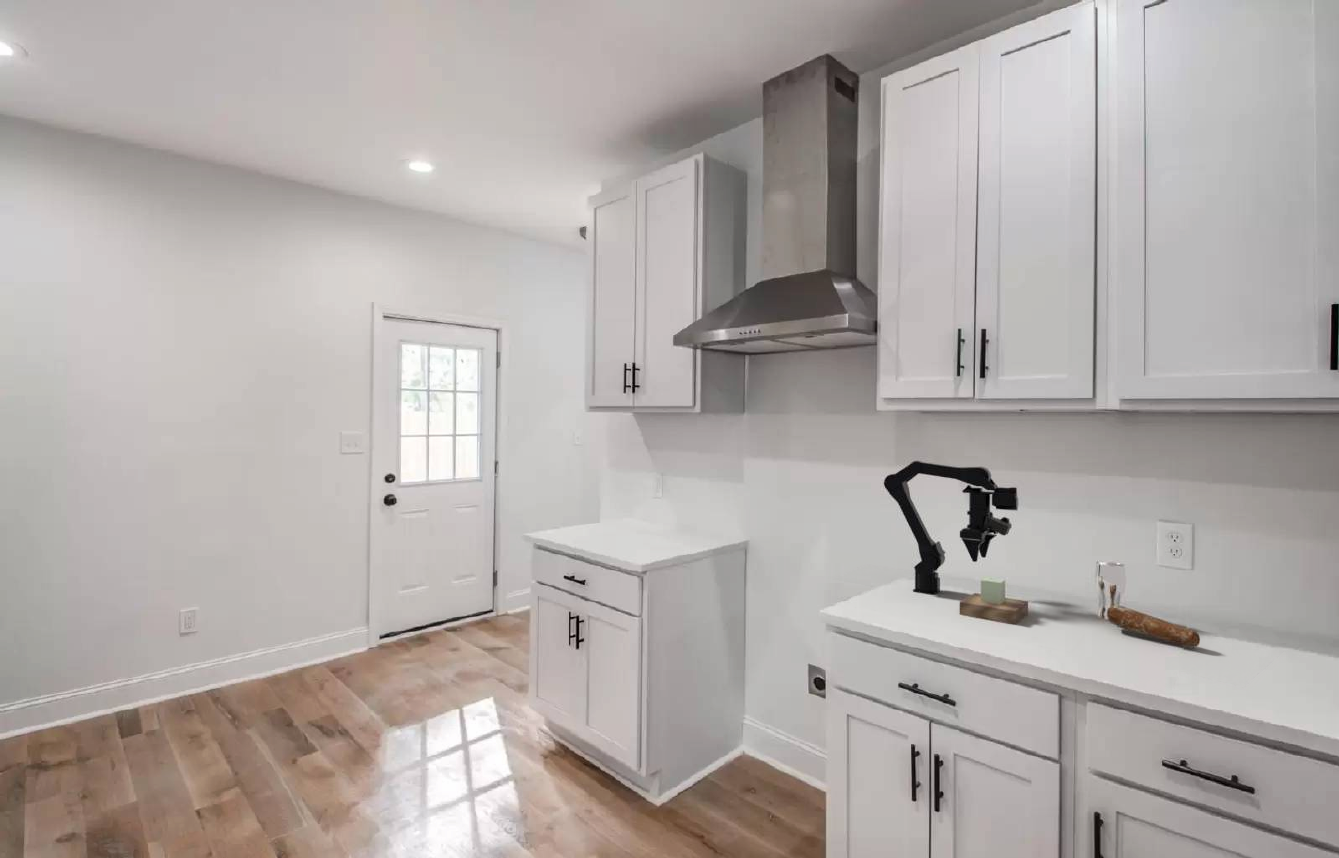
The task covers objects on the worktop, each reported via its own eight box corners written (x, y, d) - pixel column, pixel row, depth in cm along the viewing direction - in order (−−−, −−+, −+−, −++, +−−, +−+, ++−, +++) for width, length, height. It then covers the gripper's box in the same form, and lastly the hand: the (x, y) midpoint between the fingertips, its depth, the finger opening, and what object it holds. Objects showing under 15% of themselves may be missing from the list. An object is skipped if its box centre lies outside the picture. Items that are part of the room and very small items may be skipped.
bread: (1112, 625, 169) (1116, 604, 170) (1202, 649, 153) (1205, 625, 154) (1101, 623, 166) (1105, 601, 167) (1192, 647, 150) (1195, 623, 151)
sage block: (980, 601, 181) (980, 580, 181) (985, 598, 185) (985, 577, 185) (1000, 604, 178) (1000, 582, 178) (1005, 601, 182) (1005, 579, 182)
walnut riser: (959, 616, 180) (959, 601, 181) (974, 606, 191) (974, 593, 191) (1015, 626, 171) (1015, 611, 171) (1027, 615, 182) (1028, 601, 182)
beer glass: (1099, 620, 175) (1099, 565, 176) (1091, 614, 182) (1091, 560, 182) (1129, 623, 173) (1129, 567, 174) (1119, 616, 180) (1120, 562, 180)
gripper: (1000, 513, 186) (999, 567, 185) (1016, 507, 200) (1016, 558, 200) (959, 509, 193) (959, 562, 193) (977, 505, 207) (977, 554, 207)
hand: (979, 559), depth 198 cm, fingers open, 9 cm apart
